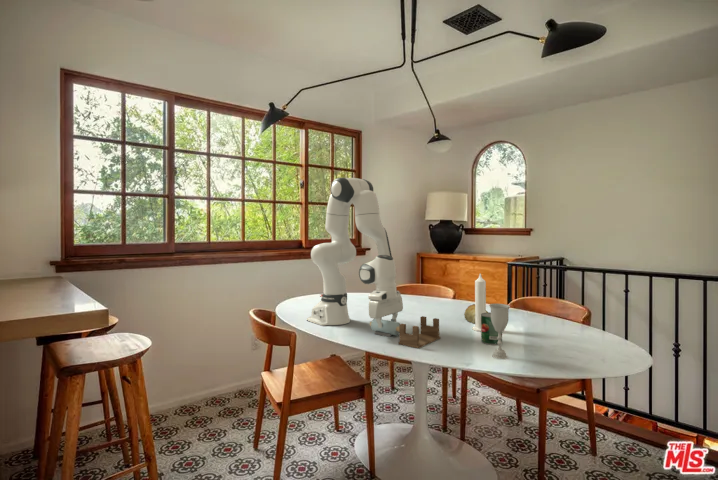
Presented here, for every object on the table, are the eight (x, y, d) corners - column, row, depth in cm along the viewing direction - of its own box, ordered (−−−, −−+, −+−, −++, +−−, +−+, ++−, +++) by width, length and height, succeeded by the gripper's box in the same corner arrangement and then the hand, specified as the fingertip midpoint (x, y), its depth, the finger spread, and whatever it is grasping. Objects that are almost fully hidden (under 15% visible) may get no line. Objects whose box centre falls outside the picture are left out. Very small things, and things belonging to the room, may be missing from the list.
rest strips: (374, 334, 171) (374, 331, 171) (382, 331, 175) (382, 328, 175) (389, 337, 166) (389, 334, 166) (397, 334, 170) (397, 331, 170)
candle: (490, 332, 171) (489, 274, 170) (473, 331, 172) (472, 274, 171) (488, 327, 178) (487, 272, 177) (471, 327, 179) (471, 272, 178)
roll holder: (418, 348, 150) (418, 327, 149) (398, 344, 156) (398, 324, 155) (440, 338, 163) (440, 319, 162) (421, 334, 169) (421, 316, 168)
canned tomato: (476, 340, 158) (476, 313, 158) (492, 338, 162) (492, 311, 161) (490, 346, 151) (490, 317, 151) (506, 343, 154) (506, 315, 154)
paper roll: (367, 331, 173) (366, 318, 173) (374, 328, 178) (374, 316, 177) (398, 337, 163) (397, 324, 163) (405, 334, 167) (405, 321, 167)
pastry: (469, 316, 200) (469, 301, 200) (494, 319, 193) (494, 303, 193) (459, 322, 189) (459, 306, 188) (485, 326, 182) (485, 308, 181)
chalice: (486, 353, 142) (485, 303, 142) (504, 352, 143) (504, 303, 142) (494, 360, 135) (494, 308, 135) (514, 359, 136) (513, 307, 135)
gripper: (394, 289, 179) (395, 319, 180) (365, 295, 164) (366, 329, 164) (405, 290, 175) (406, 321, 176) (377, 297, 160) (378, 331, 160)
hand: (387, 325), depth 170 cm, fingers open, 8 cm apart
